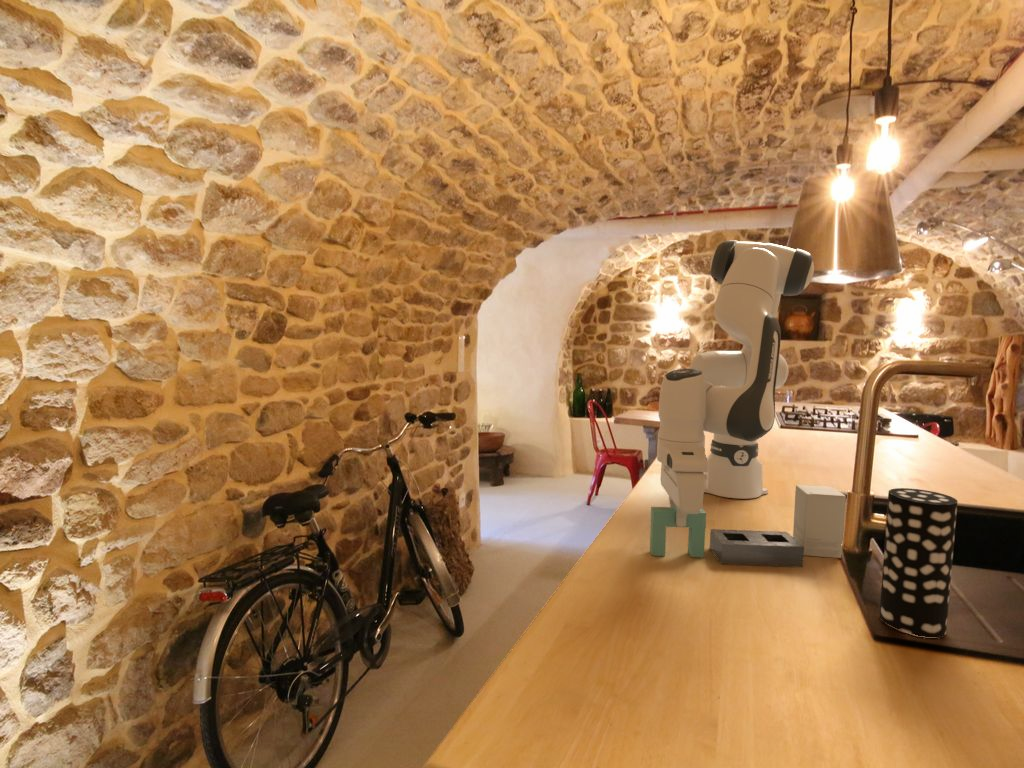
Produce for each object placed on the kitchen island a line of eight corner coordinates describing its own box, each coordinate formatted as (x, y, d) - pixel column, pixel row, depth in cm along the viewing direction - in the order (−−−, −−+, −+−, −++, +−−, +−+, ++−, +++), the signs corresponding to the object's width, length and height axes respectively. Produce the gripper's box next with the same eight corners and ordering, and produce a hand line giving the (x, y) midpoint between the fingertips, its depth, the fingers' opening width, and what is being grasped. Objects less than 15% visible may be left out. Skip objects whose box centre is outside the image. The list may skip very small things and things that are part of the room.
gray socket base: (709, 548, 115) (710, 529, 115) (785, 550, 114) (786, 531, 114) (721, 564, 107) (722, 543, 107) (802, 567, 106) (804, 546, 106)
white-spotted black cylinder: (886, 605, 91) (895, 485, 90) (950, 624, 86) (961, 496, 84) (873, 623, 86) (882, 495, 84) (940, 645, 80) (952, 508, 78)
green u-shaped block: (649, 550, 113) (651, 506, 113) (700, 552, 113) (702, 508, 112) (652, 556, 110) (653, 511, 110) (704, 558, 110) (706, 513, 109)
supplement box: (843, 559, 110) (847, 496, 109) (802, 555, 112) (805, 493, 110) (829, 545, 117) (833, 485, 116) (791, 542, 119) (794, 483, 118)
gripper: (654, 441, 120) (652, 504, 122) (675, 464, 100) (672, 539, 101) (684, 442, 120) (682, 505, 121) (711, 465, 99) (708, 541, 101)
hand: (677, 521), depth 111 cm, fingers closed on green u-shaped block, 3 cm apart
